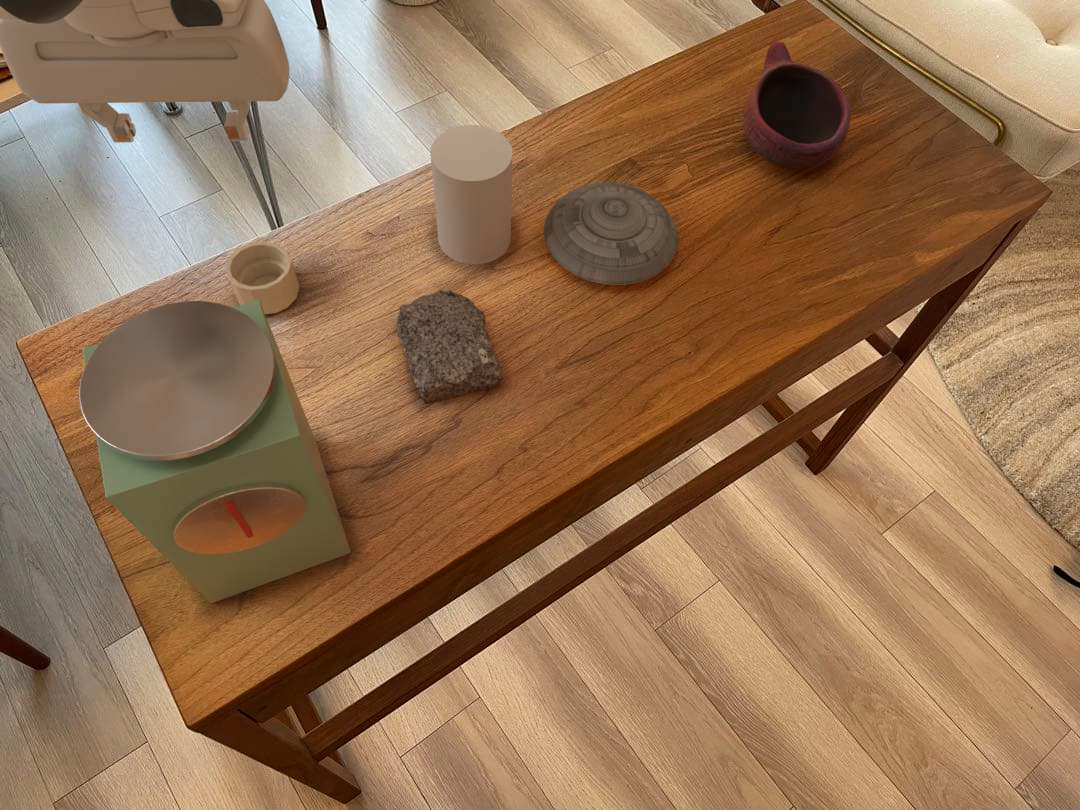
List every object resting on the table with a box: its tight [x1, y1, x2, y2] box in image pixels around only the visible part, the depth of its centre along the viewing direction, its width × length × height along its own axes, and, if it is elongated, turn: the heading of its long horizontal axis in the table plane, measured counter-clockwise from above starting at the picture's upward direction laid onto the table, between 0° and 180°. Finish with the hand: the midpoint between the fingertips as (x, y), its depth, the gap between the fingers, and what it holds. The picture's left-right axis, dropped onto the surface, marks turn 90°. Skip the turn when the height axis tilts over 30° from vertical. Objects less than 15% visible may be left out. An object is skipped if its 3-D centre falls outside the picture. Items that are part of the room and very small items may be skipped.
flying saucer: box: [543, 181, 679, 286], centre depth 88 cm, size 15×15×6 cm
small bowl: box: [225, 240, 300, 315], centre depth 82 cm, size 6×6×4 cm
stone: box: [396, 289, 502, 404], centre depth 79 cm, size 12×9×4 cm
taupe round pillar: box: [430, 124, 514, 266], centre depth 84 cm, size 8×8×12 cm
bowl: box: [742, 40, 852, 169], centre depth 97 cm, size 16×13×8 cm
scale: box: [78, 300, 352, 604], centre depth 61 cm, size 12×13×23 cm
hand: (183, 137), depth 68 cm, fingers open, 8 cm apart
